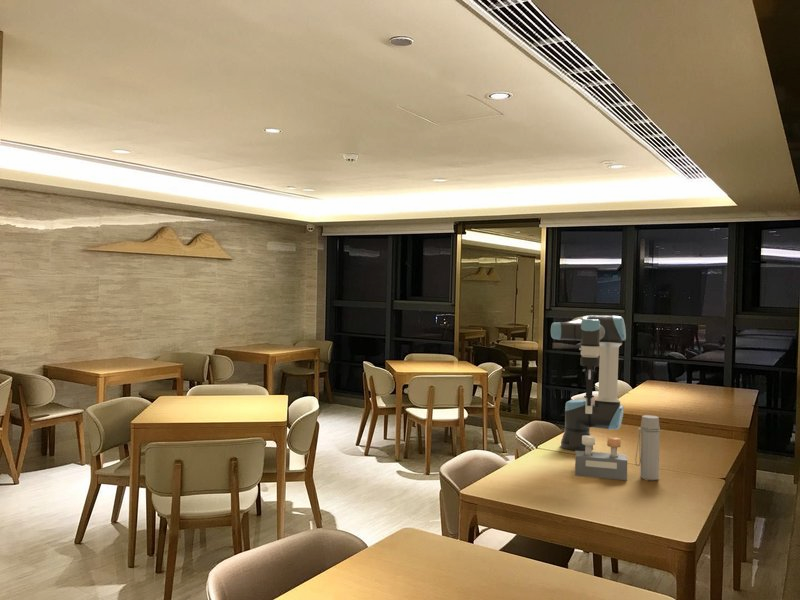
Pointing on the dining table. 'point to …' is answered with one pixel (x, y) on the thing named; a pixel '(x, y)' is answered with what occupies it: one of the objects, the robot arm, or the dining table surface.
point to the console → (601, 465)
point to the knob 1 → (588, 443)
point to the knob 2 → (613, 445)
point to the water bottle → (649, 447)
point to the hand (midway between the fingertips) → (588, 413)
